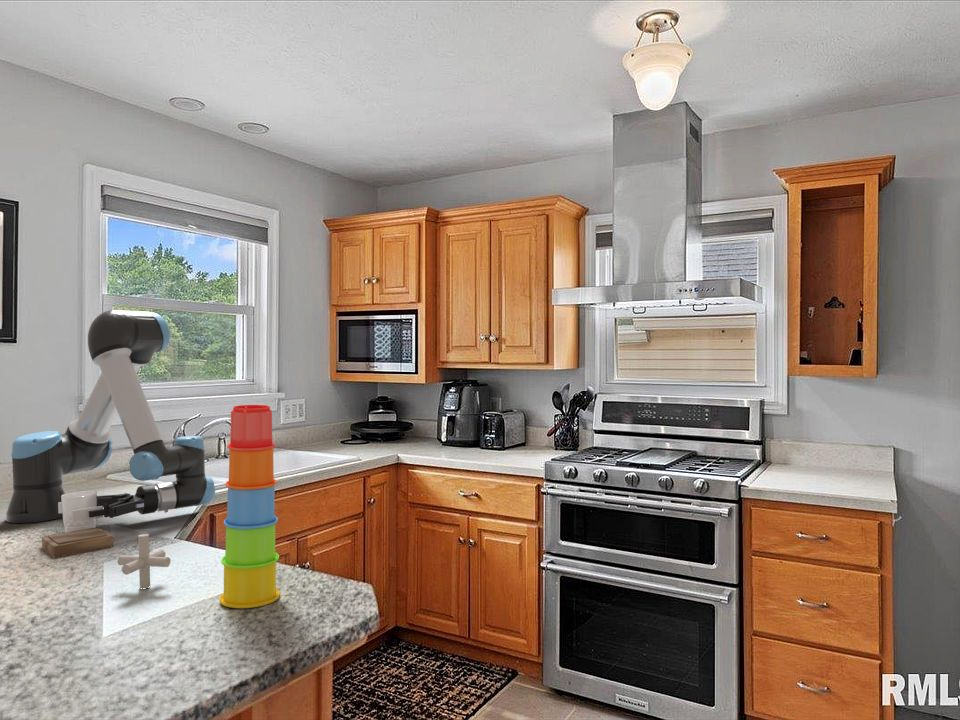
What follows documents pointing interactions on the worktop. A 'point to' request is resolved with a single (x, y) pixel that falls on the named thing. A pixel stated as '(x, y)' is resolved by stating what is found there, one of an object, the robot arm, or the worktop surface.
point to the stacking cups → (250, 511)
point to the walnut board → (77, 542)
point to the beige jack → (143, 561)
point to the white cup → (74, 503)
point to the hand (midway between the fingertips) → (65, 512)
